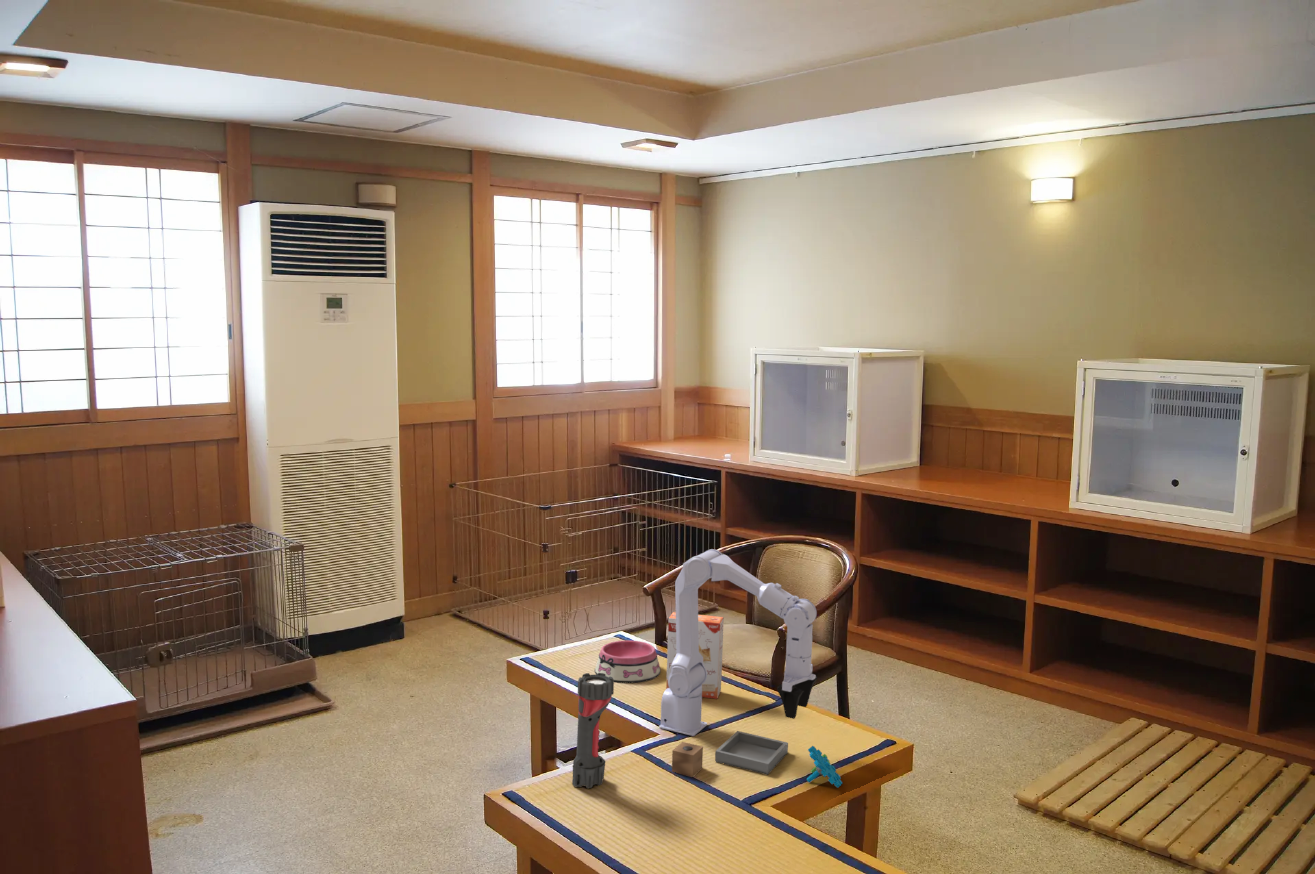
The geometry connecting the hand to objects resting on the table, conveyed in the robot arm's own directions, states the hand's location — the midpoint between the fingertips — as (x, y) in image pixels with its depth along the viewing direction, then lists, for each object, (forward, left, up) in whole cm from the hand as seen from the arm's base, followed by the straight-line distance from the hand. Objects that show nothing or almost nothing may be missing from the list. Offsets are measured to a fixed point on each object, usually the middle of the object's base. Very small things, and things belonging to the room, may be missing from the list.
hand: (796, 711), depth 220 cm
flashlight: (-33, -35, -10) cm, 49 cm away
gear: (+10, -10, -10) cm, 18 cm away
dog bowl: (-59, +26, -11) cm, 65 cm away
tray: (-8, -7, -10) cm, 14 cm away
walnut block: (-18, -20, -10) cm, 28 cm away
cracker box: (-36, +21, -10) cm, 43 cm away
